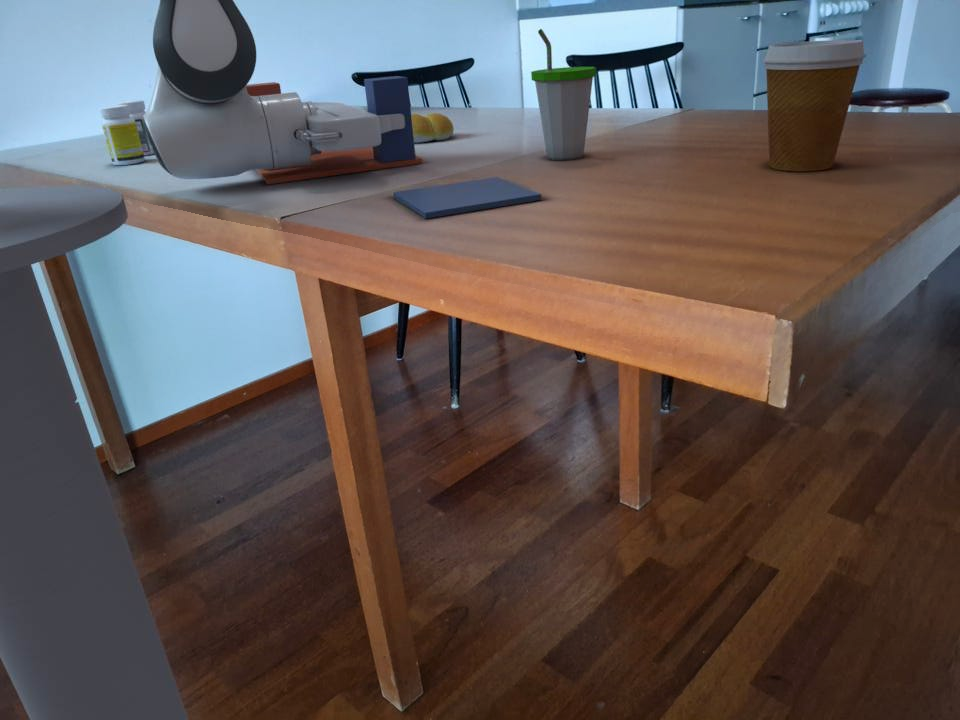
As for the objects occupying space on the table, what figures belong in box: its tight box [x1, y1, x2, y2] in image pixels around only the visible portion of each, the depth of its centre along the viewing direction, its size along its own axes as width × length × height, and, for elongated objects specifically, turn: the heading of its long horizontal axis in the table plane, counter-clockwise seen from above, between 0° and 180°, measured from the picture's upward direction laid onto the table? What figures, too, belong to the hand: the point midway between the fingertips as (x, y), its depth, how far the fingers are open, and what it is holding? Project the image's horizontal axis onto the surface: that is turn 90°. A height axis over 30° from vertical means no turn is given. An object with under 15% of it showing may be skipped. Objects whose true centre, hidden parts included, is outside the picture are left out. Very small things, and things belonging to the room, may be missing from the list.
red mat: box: [256, 147, 423, 185], centre depth 99 cm, size 20×19×1 cm
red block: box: [246, 81, 282, 96], centre depth 100 cm, size 4×4×10 cm
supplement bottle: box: [99, 104, 146, 166], centre depth 111 cm, size 5×5×8 cm
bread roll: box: [411, 112, 455, 144], centre depth 114 cm, size 8×9×4 cm
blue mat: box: [392, 176, 542, 220], centre depth 74 cm, size 12×11×1 cm
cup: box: [530, 28, 597, 161], centre depth 88 cm, size 8×8×15 cm
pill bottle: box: [117, 99, 155, 156], centre depth 120 cm, size 5×5×8 cm
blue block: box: [363, 75, 416, 163], centre depth 93 cm, size 4×4×10 cm
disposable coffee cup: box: [761, 39, 868, 172], centre depth 74 cm, size 10×10×12 cm
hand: (396, 118), depth 94 cm, fingers closed on blue block, 4 cm apart
